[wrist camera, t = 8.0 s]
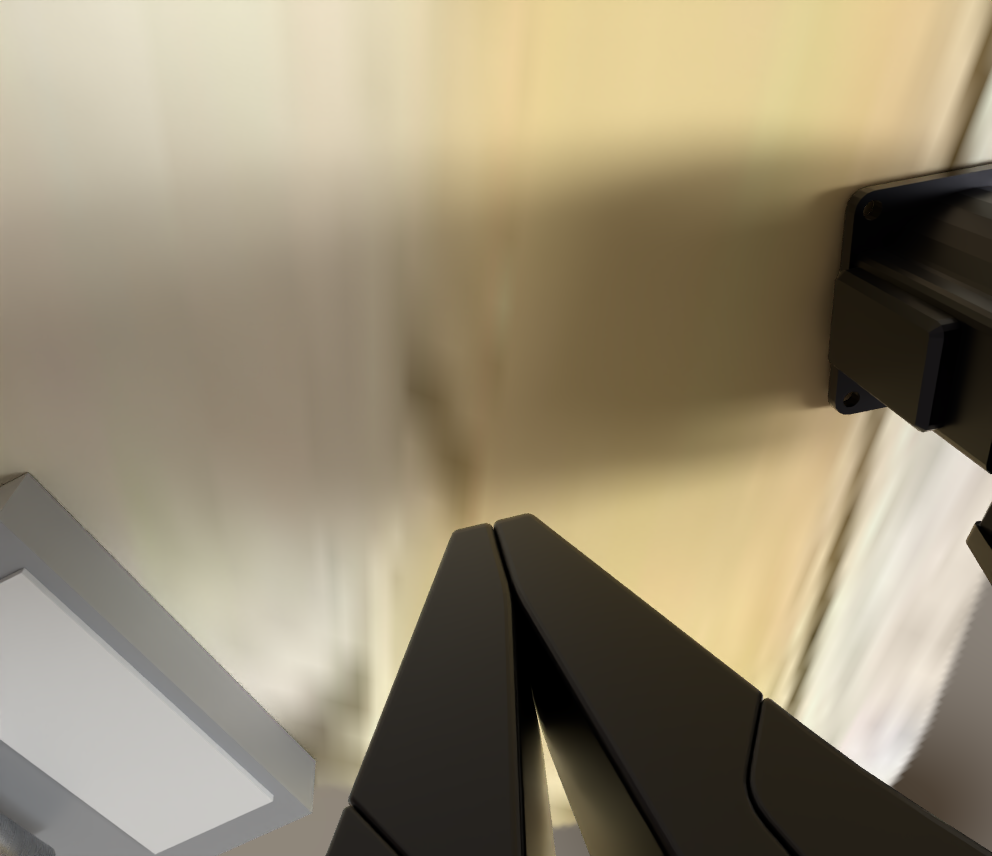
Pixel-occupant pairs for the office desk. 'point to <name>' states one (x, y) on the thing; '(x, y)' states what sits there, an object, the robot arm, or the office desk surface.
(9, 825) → the toggle lever
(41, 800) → the switch base
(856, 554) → the office desk surface
